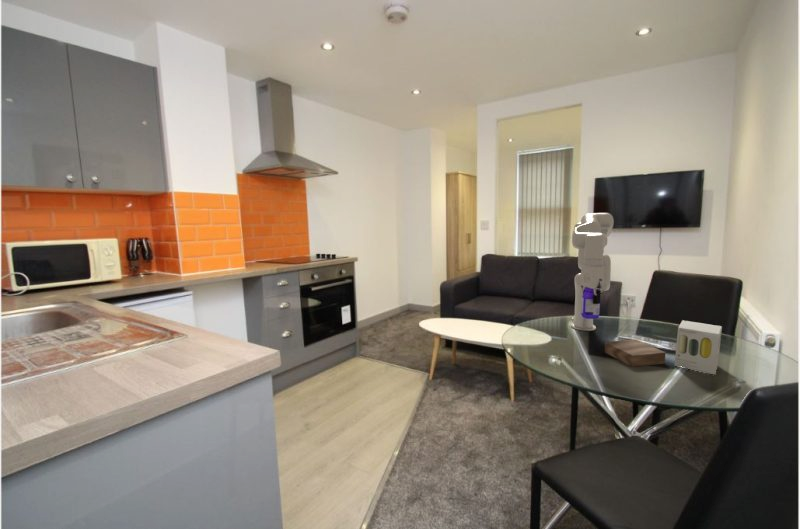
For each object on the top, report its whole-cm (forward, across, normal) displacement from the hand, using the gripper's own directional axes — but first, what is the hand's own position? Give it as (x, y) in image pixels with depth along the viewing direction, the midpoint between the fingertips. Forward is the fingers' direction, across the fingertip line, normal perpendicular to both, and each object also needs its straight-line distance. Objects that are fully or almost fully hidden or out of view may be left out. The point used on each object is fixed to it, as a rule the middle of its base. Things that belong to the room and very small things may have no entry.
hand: (591, 301), depth 158 cm
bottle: (+8, 0, 0) cm, 8 cm away
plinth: (+26, +7, +18) cm, 32 cm away
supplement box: (+26, +20, +36) cm, 48 cm away
